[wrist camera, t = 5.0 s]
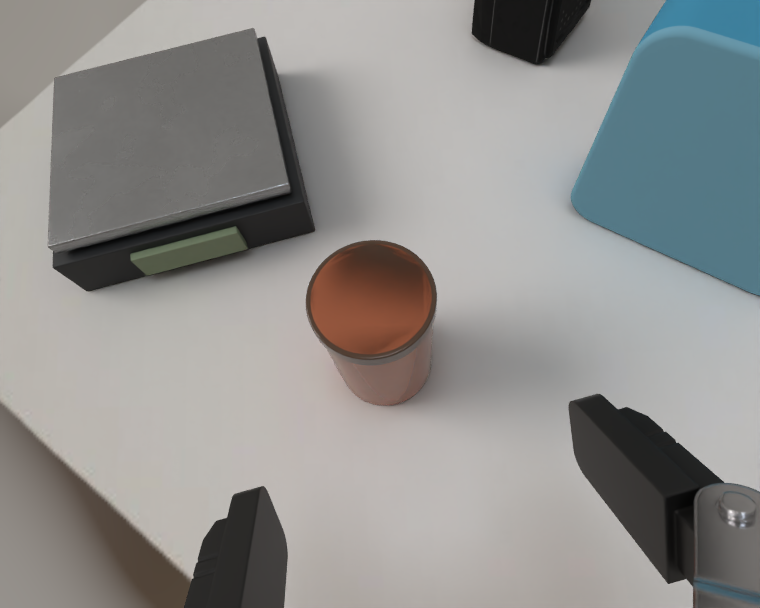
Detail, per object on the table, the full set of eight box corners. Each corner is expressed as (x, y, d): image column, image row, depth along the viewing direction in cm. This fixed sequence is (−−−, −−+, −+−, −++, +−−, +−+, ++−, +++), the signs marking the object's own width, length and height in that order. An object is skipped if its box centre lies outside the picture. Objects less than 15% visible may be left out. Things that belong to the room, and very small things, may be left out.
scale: (86, 299, 29) (51, 275, 26) (86, 122, 35) (57, 87, 32) (316, 238, 29) (306, 208, 27) (277, 73, 35) (265, 35, 33)
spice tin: (350, 419, 25) (319, 375, 17) (329, 330, 27) (294, 258, 20) (445, 392, 25) (454, 338, 18) (417, 306, 27) (415, 226, 20)
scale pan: (57, 254, 26) (46, 247, 26) (62, 87, 32) (53, 77, 31) (292, 193, 27) (288, 183, 26) (257, 38, 32) (253, 27, 31)
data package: (806, 244, 27) (1072, 48, 16) (781, 309, 25) (1053, 144, 14) (594, 158, 30) (692, -52, 19) (562, 211, 29) (647, 18, 18)
